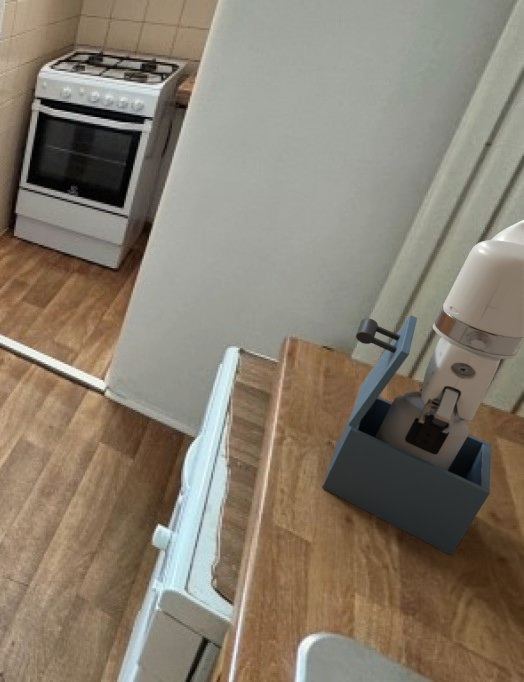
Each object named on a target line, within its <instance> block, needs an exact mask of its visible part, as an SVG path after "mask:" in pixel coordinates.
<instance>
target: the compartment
mask: <svg viewBox="0 0 524 682" xmlns="http://www.w3.org/2000/svg"><path fill="white" fill-rule="evenodd" d="M392 403H393V401H390V400H388V399H387V398H383V397H381V396H380V395H379V396H378V398H377V399H376V400H375V402H374V403H373V405H372V406H371V407H370V409H369V410H368V411H367V413H366V414H365V416H364V417H363V418H362V420H361V421H360V422H359V424H358V425H357V426H356V428H353V427H351V426H349V425H348V423H349V420H350V417H351V414H352V411H353V409H352V410H351V413H350V414H349V417H348V419H347V421H346V422H345V425H344V427H343V430H341V433H340V435H339V438H338V440H337V442H336V444H335V447H334V450H333V453H332V455H331V458H330V461H329V465H328V468H327V470H326V473H325V477H324V480H323V483H322V486H321V488H322V489H324V490H326V492H327V491H328V492H330V493H331V494H333V495H335V496H337V497H339V498H341V499H343V500H344V501H347V502H348V503H351V504H352V505H354V506H356V507H358V508H360V509H362V510H364V511H366V512H368V513H370V514H371V515H373V516H375V517H377V518H378V519H381V520H383V521H384V522H386V523H389V524H390V525H392V526H394V527H396V528H398V529H400V530H402V531H403V532H406V533H408V534H409V535H411V536H413V537H415V538H417V539H418V540H421V541H422V542H424V543H426V544H428V545H431V546H432V547H434V548H436V549H438V550H440V551H442V552H444V553H446V554H447V555H450V556H452V554H453V553H454V551H455V550H456V549H457V546H458V545H459V543H460V542H461V540H462V539H463V537H464V535H465V534H466V532H467V531H468V529H469V527H470V525H471V524H472V523H473V521H474V519H476V516H477V515H478V513H479V512H480V510H481V508H482V507H483V505H484V503H485V502H486V501H487V499H488V497H489V495H490V494H491V463H492V462H491V461H492V459H491V457H492V443H491V442H488V441H486V440H484V439H481V438H479V437H476V436H473V435H472V434H470V433H469V434H468V436H467V438H466V440H465V441H464V443H463V445H462V447H461V448H460V450H459V452H458V453H457V455H456V457H455V459H454V460H453V462H452V464H451V466H450V467H449V469H448V471H447V470H444V469H442V468H440V467H438V466H436V465H434V464H431V463H429V462H427V461H425V460H423V459H420V458H418V457H416V456H414V455H412V454H409V453H407V452H405V451H403V450H401V449H399V448H396V447H394V446H392V445H390V444H388V443H385V442H383V441H381V440H379V439H377V438H375V437H376V435H377V433H378V431H379V429H380V427H381V425H382V423H383V421H384V419H385V417H386V415H387V413H388V411H389V409H390V407H391V405H392Z"/></svg>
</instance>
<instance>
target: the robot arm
mask: <svg viewBox="0 0 524 682" xmlns="http://www.w3.org/2000/svg"><path fill="white" fill-rule="evenodd" d="M432 330H433V331H434V332H435V333H436V334H437V335H438V336H439V337H440V338H439V340H438V342H437V344H436V346H435V348H434V350H433V351H432V354H431V356H430V359H429V361H428V363H427V366H426V368H425V373H424V376H423V380H422V385H421V386H422V387H421V389H420V390H419V391H422V392H421V400H422V402H423V403H424V404H425V406H424V408H423V410H422V413H421V415H420V417H419V419H418V418H415V420H414V422H413V424H412V426H411V428H410V430H409V431H408V433H407V435H406V437H405V441H406V442H407V443H409V444H412V445H414V446H416V447H418V448H421V449H423V450H425V451H427V452H430V453H432V454H438V452H439V451H440V449H441V447H442V445H443V444H444V442H445V440H446V438H447V436H448V435H449V430H450V427H451V425H452V423H453V420H454V418H455V416H456V413H457V411H458V416H459V418H462V419H464V421H467V422H471V421H473V419H474V417H475V415H476V413H477V411H478V409H479V407H480V406H481V403H482V401H483V399H484V397H485V396H486V393H487V391H488V389H489V387H490V386H491V383H492V381H493V379H494V377H495V375H496V373H497V370H498V368H499V365H500V362H501V360H511V359H514V358H515V357H516V356H517V354H518V352H519V350H520V349H521V347H522V345H523V344H524V219H521V220H520V221H518V222H516V223H514V224H512V225H509V226H508V227H506V228H504V229H503V230H501V231H500V232H498V233H497V234H496V235H494V236H493V237H492V238H491V239H490V240H489V239H487V240H483V241H480V242H478V243H476V244H475V245H474V246H473V247H472V249H471V250H470V251H469V253H468V255H467V258H466V259H465V261H464V263H463V265H462V267H461V269H460V271H459V273H458V275H457V277H456V279H455V280H454V283H453V285H452V287H451V289H450V290H449V293H448V294H447V297H446V298H445V300H444V303H443V304H442V306H441V308H440V310H439V312H438V314H437V316H436V318H435V320H434V322H433V324H432ZM433 399H435V400H437V401H440V402H439V405H438V404H437V403H435V402H432V400H433ZM431 408H433V409H436V412H435V413H434V415H432V414H430V415H429V416H428V414H429V412H430V409H431Z"/></svg>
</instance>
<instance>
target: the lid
mask: <svg viewBox="0 0 524 682" xmlns="http://www.w3.org/2000/svg"><path fill="white" fill-rule="evenodd" d="M417 321H418V317H416V316H414V315H412V314H411V315H408V317H407V319H406V320H405V322H404V323H403V324H402V325H401V327H400V328H399V330H398V331H397V333H395V332H393V331H391V330H388V329H386V328H385V327H382V326H380V325H379V324H378V322H377V321H376V320H375V319H373V318H370V317H369V318H368V317H367V318H366V317H365V318H362V320H360V324H359V326H358V329H357V331H356V335H355V338H356V340H357V341H358V342H359V343H361V344H363V345H370V344H373V345H375V346H377V347H379V348H382V349H384V351H383V353H382V354H381V355H380V357H379V358H378V359H377V361H376V363H375V364H374V365H373V367H372V368H371V370H370V371H369V372H368V374H367V375H366V377H365V378H364V380H363V381H362V382H361V384H360V385H359V388H358V392H357V395H356V398H355V401H354V404H353V408H352V410H353V411H352V410H351V412H352V414H351V413H350V415H351V417H350V416H349V417H350V420H349V423H348V425H349V426H351V427H353V428H356V426H357V425H358V424H359V422H360V421H361V420H362V418H363V417H364V416H365V414H366V413H367V411H368V410H369V409H370V407H371V406H372V405H373V403H374V402H375V400H376V399H377V398H378V396H379V397H380V395H381V394H382V392H383V391H384V389H385V388H386V387H387V385H388V384H389V383H390V381H391V380H392V379H393V377H394V376H395V375H396V374H397V372H398V370H399V369H400V368H401V367H402V365H403V363H404V362H405V361H406V359H407V358H408V357H409V355H410V351H411V348H412V343H413V339H414V334H415V330H416V325H417ZM376 333H379V334H381V335H383V336H385V337H388V338H390V339H392V340H391V341H390V343H388V342H386V341H383V340H381V339H379V338H376V337H375V336H376Z"/></svg>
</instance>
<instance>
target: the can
mask: <svg viewBox="0 0 524 682" xmlns="http://www.w3.org/2000/svg"><path fill="white" fill-rule="evenodd" d="M421 392H422V391H420V390H407V391H406V392H404V394H401V395H397V396H396V397H394V398H393V401H392V402H393V403H392V405H391V407H390V409H389V411H388V413H387V415H386V417H385V419H384V421H383V423H382V425H381V427H380V429H379V431H378V433H377V435H376V437H375V438H377V439H379V440H381V441H383V442H385V443H388V444H390V445H392V446H394V447H396V448H399V449H401V450H403V451H405V452H407V453H409V454H412V455H414V456H416V457H418V458H420V459H423V460H425V461H427V462H429V463H431V464H434V465H436V466H438V467H440V468H442V469H444V470H447V471H448V469H449V467H450V466H451V464H452V462H453V460H454V459H455V457H456V455H457V453H458V452H459V450H460V448H461V447H462V445H463V443H464V441H465V440H466V438H467V436H468V434H469V435H470V433H471V431H470V427H469V425H468V424H467V423H468V421H464V419H462V418H459V416H458V411H457V413H456V416H455V418H454V420H453V423H452V425H451V427H450V430H449V435H448V436H447V438H446V440H445V442H444V444H443V445H442V447H441V449H440V451H439V452H438V454H432V453H430V452H427V451H425V450H423V449H421V448H418V447H416V446H414V445H412V444H409V443H407V442H406V441H405V437H406V435H407V433H408V431H409V430H410V428H411V426H412V424H413V422H414V420H415V418H418V419H419V417H420V415H421V413H422V410H423V408H424V406H425V404H424V403H423V402H422V400H421ZM432 402H435V403H437V404H438V405H439V402H440V401H437V400H435V399H433V400H432ZM435 412H436V409H433V408H431V409H430V412H429V414H428V416H429V415H430V414H432V415H434V413H435Z"/></svg>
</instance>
